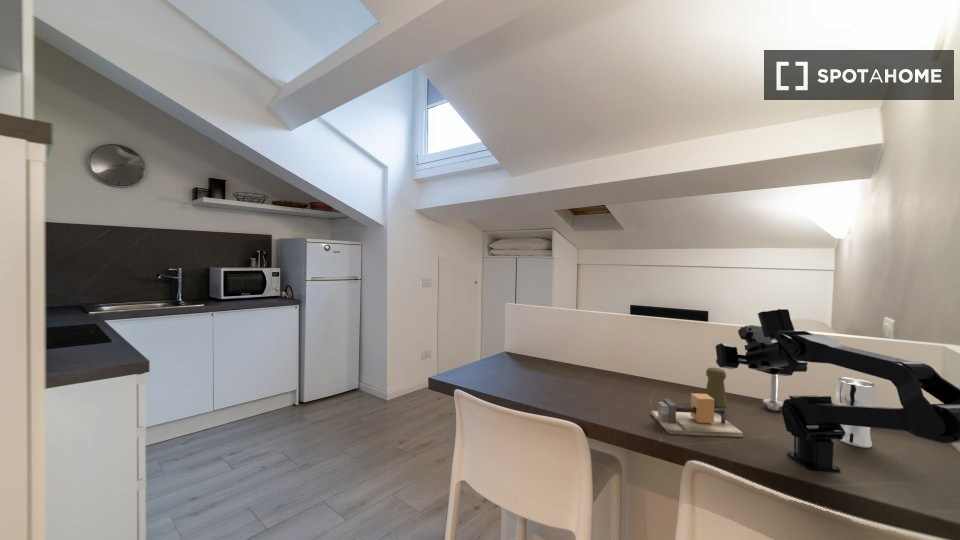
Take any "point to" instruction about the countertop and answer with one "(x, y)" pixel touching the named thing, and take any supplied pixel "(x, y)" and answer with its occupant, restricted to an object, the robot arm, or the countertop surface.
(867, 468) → the countertop surface
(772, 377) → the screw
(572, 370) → the countertop surface
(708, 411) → the orange block
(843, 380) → the silver metal tumbler
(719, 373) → the olive green shaker
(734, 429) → the board
